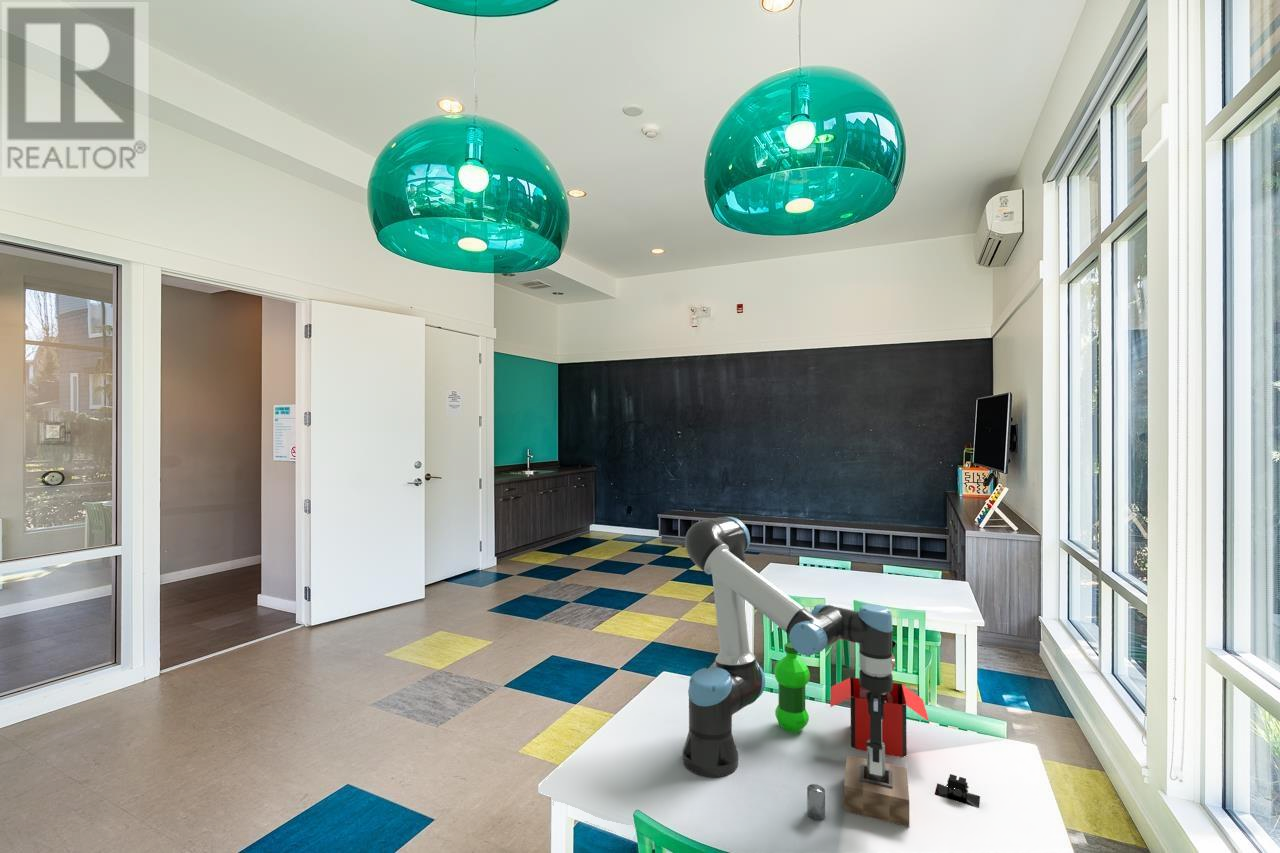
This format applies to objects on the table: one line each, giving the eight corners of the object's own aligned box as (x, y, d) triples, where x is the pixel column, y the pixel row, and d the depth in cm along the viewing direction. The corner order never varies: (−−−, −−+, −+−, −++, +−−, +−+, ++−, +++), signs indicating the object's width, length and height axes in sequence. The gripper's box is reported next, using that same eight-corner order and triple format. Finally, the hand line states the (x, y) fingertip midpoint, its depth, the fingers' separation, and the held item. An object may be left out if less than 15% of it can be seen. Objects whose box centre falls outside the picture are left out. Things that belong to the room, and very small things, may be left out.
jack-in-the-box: (922, 734, 172) (921, 633, 172) (929, 762, 157) (928, 651, 158) (831, 720, 180) (831, 623, 181) (830, 745, 166) (830, 640, 166)
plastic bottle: (793, 740, 168) (793, 654, 169) (767, 725, 177) (767, 643, 177) (816, 730, 174) (816, 647, 174) (790, 716, 182) (789, 637, 183)
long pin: (867, 804, 139) (866, 745, 139) (867, 794, 143) (867, 737, 143) (885, 808, 138) (884, 749, 138) (885, 798, 141) (884, 741, 141)
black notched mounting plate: (987, 799, 142) (987, 780, 142) (986, 815, 136) (985, 795, 136) (931, 782, 149) (931, 764, 149) (927, 796, 143) (927, 778, 143)
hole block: (844, 811, 136) (844, 784, 137) (847, 778, 149) (847, 753, 149) (909, 826, 131) (909, 798, 131) (906, 791, 144) (906, 766, 144)
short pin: (806, 818, 134) (806, 792, 134) (808, 807, 138) (808, 782, 138) (824, 822, 132) (824, 796, 133) (825, 812, 136) (825, 786, 136)
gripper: (893, 695, 128) (894, 791, 127) (891, 655, 151) (892, 737, 150) (857, 689, 131) (857, 783, 130) (861, 651, 154) (861, 731, 153)
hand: (876, 759), depth 140 cm, fingers open, 13 cm apart
